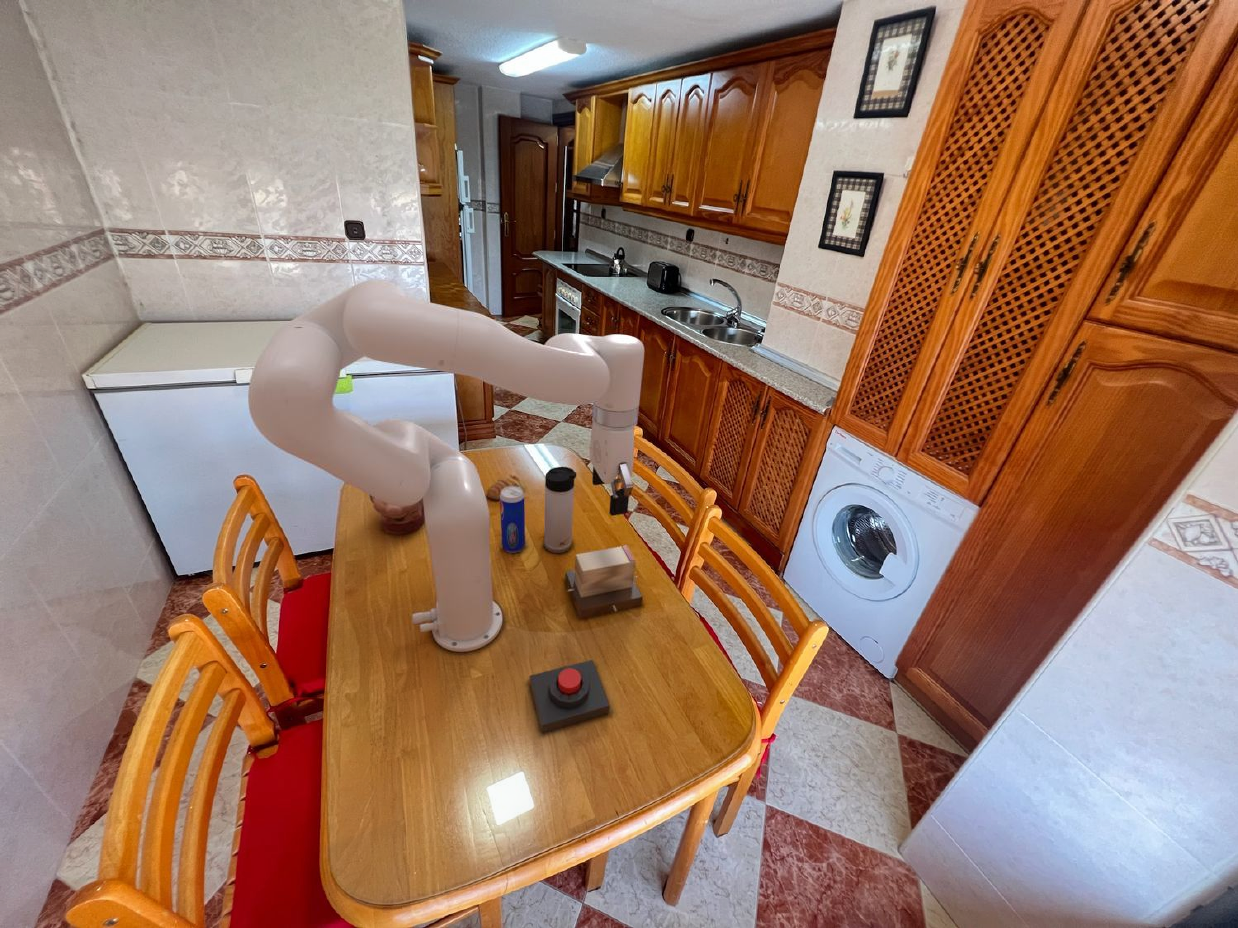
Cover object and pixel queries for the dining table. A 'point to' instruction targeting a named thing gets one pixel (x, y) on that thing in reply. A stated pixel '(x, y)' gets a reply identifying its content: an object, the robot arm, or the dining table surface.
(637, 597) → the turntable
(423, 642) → the dining table surface
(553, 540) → the travel mug
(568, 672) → the button
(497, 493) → the pastry
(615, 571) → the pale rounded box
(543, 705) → the button block
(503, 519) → the beverage can
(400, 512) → the decorative planter
